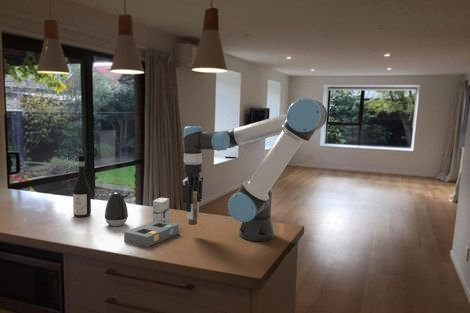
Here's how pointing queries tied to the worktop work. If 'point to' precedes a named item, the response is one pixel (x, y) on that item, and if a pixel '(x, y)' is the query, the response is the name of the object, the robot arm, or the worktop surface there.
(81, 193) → the wine bottle
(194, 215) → the walnut plug
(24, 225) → the worktop surface
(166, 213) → the ink box
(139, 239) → the socket box
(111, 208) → the pump dispenser
